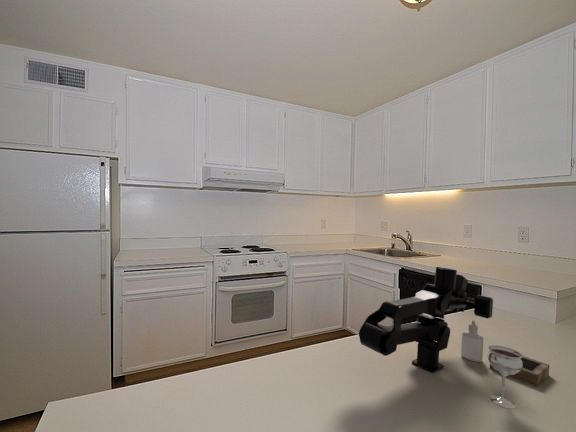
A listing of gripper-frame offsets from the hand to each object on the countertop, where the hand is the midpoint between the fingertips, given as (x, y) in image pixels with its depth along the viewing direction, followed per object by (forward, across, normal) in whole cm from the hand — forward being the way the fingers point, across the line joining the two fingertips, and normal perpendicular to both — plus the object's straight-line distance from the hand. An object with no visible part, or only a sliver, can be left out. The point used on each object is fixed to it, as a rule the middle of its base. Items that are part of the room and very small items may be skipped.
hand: (470, 300), depth 101 cm
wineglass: (-24, -19, +19) cm, 36 cm away
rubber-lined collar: (-2, -15, +17) cm, 23 cm away
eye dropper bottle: (-7, -4, +17) cm, 19 cm away
